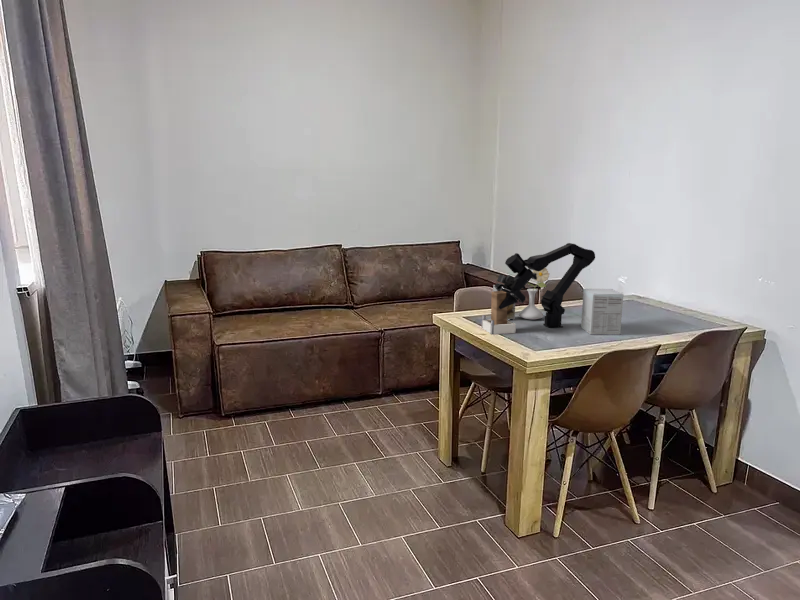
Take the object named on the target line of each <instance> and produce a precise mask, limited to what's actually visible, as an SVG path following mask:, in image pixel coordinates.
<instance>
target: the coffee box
mask: <svg viewBox="0 0 800 600" xmlns="http://www.w3.org/2000/svg"><path fill="white" fill-rule="evenodd" d="M502 284H503V285H504V283H502ZM495 285H496V284H493V287H492V292H493V291H497V289H496V288H495V287H494V286H495ZM515 315H516V303H514V304H512V305H509V306H507V320H508V319H516V318H515V317H516V316H515Z"/></svg>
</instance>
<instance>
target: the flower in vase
mask: <svg viewBox="0 0 800 600" xmlns="http://www.w3.org/2000/svg"><path fill="white" fill-rule="evenodd" d="M532 272H533V273H536V274H537V275H536V276H537V280H535V279H533V281H536V282H537V283H536V284H535V285H534V284H532V283H530V282H528V283H527V284H528V285H529V286H531V287H534V288H527V289H526V291H527V292H528V297H529V301H528V302H529V303H528V305H527V306H525V307H524V308H523V309H521V311H519V313H518V317H521V319H525V320H541V319H542V318H543V317H544V313H543V312H542V311H541V310H540V309H539V308H538V307H537V306H536V305H535V297H536V294H537V292H538V290H539V289H538V288H536V287H537V286H538V287H540V288H542V289H543V288H546V287H548V285H547V284H546V283H545V282H546V281H548V280H549V277H550V273H549V270H548V269H547V267H546V268H544V269H543V270H541V271H535V270H532Z"/></svg>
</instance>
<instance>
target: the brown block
mask: <svg viewBox="0 0 800 600" xmlns="http://www.w3.org/2000/svg"><path fill="white" fill-rule="evenodd" d="M505 298H506V292H504V291H493V290H492V291H491V303H490V305H491V307H490V309H491V311H490V319H491V320H494V325H498V324H507V307H505V308H502V309H499V306H500V305H501V303H502V302H503V301H504V299H505Z"/></svg>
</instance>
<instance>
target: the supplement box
mask: <svg viewBox="0 0 800 600" xmlns="http://www.w3.org/2000/svg"><path fill="white" fill-rule="evenodd" d="M582 292H583V293H582V307H581V323H580V327H581V329H583V330H584V331H585V332H587V333H588V334H589V335H612V336H613V335H614V336H615V335H619V336H620V335H621V330H622V329H621V327H622V317H623V304H624V295H625V294H623V292H620V291H618V290H615V289H613V288H583V291H582Z"/></svg>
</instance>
